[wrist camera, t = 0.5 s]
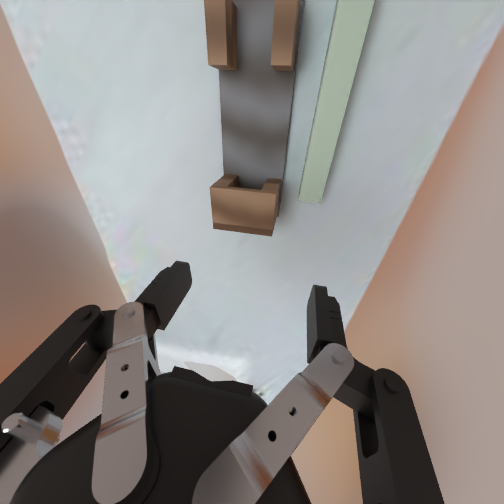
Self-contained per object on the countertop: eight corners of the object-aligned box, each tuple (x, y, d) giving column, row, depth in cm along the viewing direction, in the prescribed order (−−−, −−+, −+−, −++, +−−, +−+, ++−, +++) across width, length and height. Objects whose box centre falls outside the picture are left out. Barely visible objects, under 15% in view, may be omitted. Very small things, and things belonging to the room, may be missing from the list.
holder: (218, -3, 22) (186, -45, 16) (304, -7, 21) (304, -54, 15) (227, 208, 36) (211, 228, 30) (278, 214, 35) (273, 236, 29)
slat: (338, -8, 20) (344, -29, 17) (370, -8, 20) (382, -30, 17) (299, 191, 32) (298, 200, 29) (318, 193, 32) (320, 203, 28)
